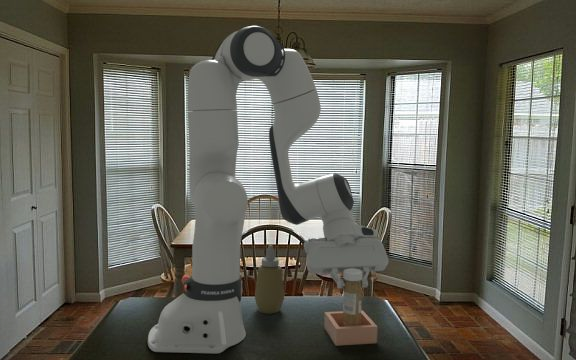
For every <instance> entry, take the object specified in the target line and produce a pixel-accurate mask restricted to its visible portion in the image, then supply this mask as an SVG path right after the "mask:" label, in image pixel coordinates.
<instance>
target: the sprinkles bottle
mask: <svg viewBox="0 0 576 360" xmlns="http://www.w3.org/2000/svg"><path fill="white" fill-rule="evenodd" d="M362 278H363V275H362V271H361V270H359V269H355V268H348V269H345V270H344V271H343V274H342V279H344V281H345V282H344V283H345V287H344V288H343V289H342V291H343V295H342V311H343V324H344V325H345V326H360V325H361V310H362V287H361V281H362Z"/></svg>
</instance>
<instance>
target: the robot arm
mask: <svg viewBox="0 0 576 360" xmlns="http://www.w3.org/2000/svg"><path fill="white" fill-rule="evenodd" d="M188 75H189V76H188V83H187V96H186V97H187V101H186V102H187V103H186V105H187V123H188V124H187V126H188V143H189V160H188V161H189V163H188V164H189V167H188V168H189V169H188V170H189V171H188V172H189V173H188V176H189V178H188V182H189V199H190V202H191V203H192V205H193V206H194V208H195V221H194V223H195V224H194V234H193V241H192V247H191V248H192V249H191V251H192V257H191V258H192V261H191V269H192V271H191V276H190V275H189V274H184V275H183V276H182V277H181V283H182V294H180V295H178V296H177V297H176V298H175V299H174V300H172V301H171V302H169V303H168V304H166V305H165V307H164V308H163V309H162V311H161V312H160V316H159V318H158V323H157V324H155V325H154V326H152V327H151V329H150V330H149V332H148V335H147V345H148V348H149V349H150V350H151V351H152V352H155V353H186V354H188V353H190V354H221V353H222V352H224V351H226V349H229V348H230V347H233V346H235V345H237V344H239V343H240V342H242V341H243V340H244V339H245V338H246V334H247V332H246V329H245V325H244V322H243V321H244V320H243V316H242V307H241V301H242V297H243V296H242V295H243V280H242V276H241V274H240V273H241V242H242V237H243V230H244V224H245V220H246V219H245V218H246V212H247V209H248V206H249V204H248V203H249V199H248V198H249V197H248V195H247V191H246V189H245V186H244V185H243V183H242V182H241V181H239V180H238V179H237V178H236V170H237V169H236V166H237V157H238V156H237V155H238V150H239V123H238V122H239V121H238V120H239V119H238V103H237V102H238V101H237V95H238V87H239V85H240V83H241V82H244V81H252V80H255V79H257V80H259V81H261V82H262V83H263V84H264V86H265V87H266V89H267V90H268V93H269V97H270V100H271V103H272V106H273V110H274V120H273V124H272V125H271V126H270V127H269V131H268V143H269V149H270V155H271V161H272V167H273V173H274V177H275V178H274V179H275V184H276V189H277V191H276V192H277V198H278V199H277V203H278V209H279V212H280V215H281V217H282V219H283V220H285V221H286V222H288V223H289V224H293V225H295V226H298V225H301V224H302V223H305V222H308V221H310V220H312V219H313V220H314V219H316V218H320V219H321V221H322V223H323V225H322V231H323V236H324V237H317V238H313V237H310V238H308V239H306V240H305V241H304V243H303V249H304V252H305V254H306V266H307V271H308V272H309V273H310V274H311V275H319V274H330V278H331V279H333V281H334V282H335V283H336V286H337V289H339V290H341V289H342V290H344V287H345V283H344V282H345V281H344V278H341V277H340V276H339V275H338V274H340V273H341V274H342V273H343V271H344V270H345V269H348V268H355V269H359V270H361V271H362V281H361V288H368V286H369V281H368V276H369V274H370V272H383V271H385V270H386V268H387V266H388V264H389V257H388V254H387V252H386V248H385V246H384V244H383V243H382V241H381V240H380V239H378V231H377V230H376V229H375V228H372V227H371V228H370V227H368V226H364V225H360V224H359V223H357V222H356V220H355V218H354V216H353V215H354V210H353V206H354V204H355V201H354V197H353V195H352V189H351V186H350V182H349V181H348V180H347V178H346V177H344V176H342V175H340V174H338V173H336V172H333V173H332V172H331V173H327V174H325V175H321V176H317V177H316V178H313V179H309V180H306V181H304V182H299V183H295V182H293V175H292V171H291V164H290V158H289V150H290V148H291V146H292V145H293V144H294V143H295V142H296V141H297V140H299V139H300V138H301V137H302V136H303V135H305V134H306V133H307V132H308V131H309V130H311V128H312V127H314V125H316V123H317V122H318V120H319V117H320V116H321V111H322V107H321V102H320V97H319V93H318V90H317V88H316V84H315V81H314V79H313V77H312V73H311V72H310V70H309V67H308V66H307V63H306V61H305V59H304V58H303V56H302V54H301V53H300V52H299V51H297V50H295V49H291V48H284V46H283V45H282V44H281V43H280V42H279V41H278V39H276V37H275V36H274V34H273V33H272V32H271V31H269V30H268V29H266V28H265V27H261V26H258V25H251V26H246V27H243V28H241V29H239V30H236V31H234V32H232V33H230V34H229V35H228V36H226V38H225V39H224V40H223V41H221V42H220V44H219V45H218V47H217V49H216V51H215V52H214V55H213V56H212V58H211V59H207V60H206V59H205V60H201V61H199V62H197V63H195V64H194V65H193V66H192V67H191V68H190V70H189V74H188Z"/></svg>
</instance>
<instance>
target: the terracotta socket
mask: <svg viewBox="0 0 576 360" xmlns="http://www.w3.org/2000/svg"><path fill="white" fill-rule="evenodd" d="M323 325H324V327H323V328H324V330H325V331H326V333H327V334H328V336H329V337H330V340H332V342H333V344H334V346H338V347H339V346H351V345H352V346H353V345H367V344H378V325H377V324H376V323H375V322H374V321H373V320H372V319H371V317H370V316H368V314H366V312H365V311H364V310H362V309H361V325H360V326H345V325H344V324H343V310H342V311H324V323H323Z"/></svg>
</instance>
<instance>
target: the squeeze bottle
mask: <svg viewBox="0 0 576 360" xmlns="http://www.w3.org/2000/svg"><path fill="white" fill-rule="evenodd" d="M279 262H280V259H279V257H276V256H275V250H274V245H273V244H269V245H268V247H267V250H266V254H265V256H264V257H262V258H261V265H260V266H259V267H258V268H257V274H256V281H255V282H256V283H255V293H254V300H255V303H256V306H257V310H258V312H259V313H263V314H271V315H272V314H277V313H278V312H280V310H281V308H282V305H283V303H284V300H285V291H284V279H283V277H284V276H283V268H282V267H281V265H279Z"/></svg>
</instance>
